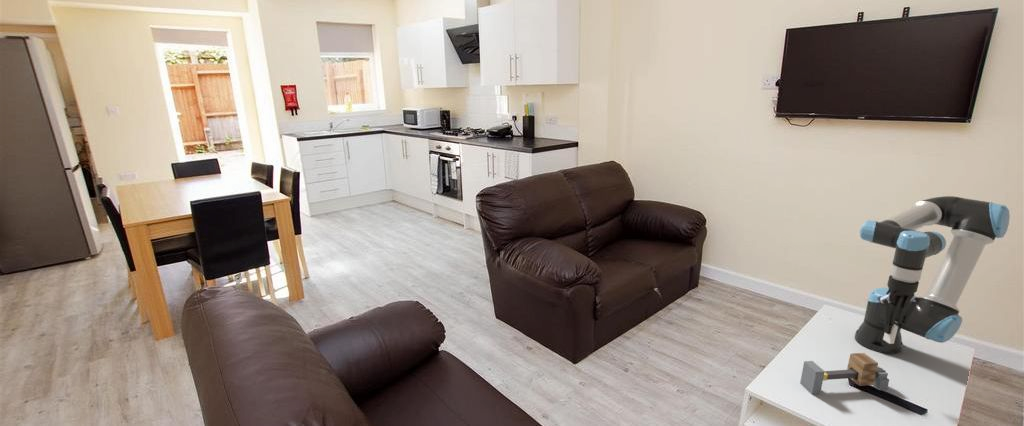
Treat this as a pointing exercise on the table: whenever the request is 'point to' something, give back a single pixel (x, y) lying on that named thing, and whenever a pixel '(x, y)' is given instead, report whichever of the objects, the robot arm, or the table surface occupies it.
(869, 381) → the wooden block on rod
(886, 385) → the rod rig
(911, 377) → the table surface
